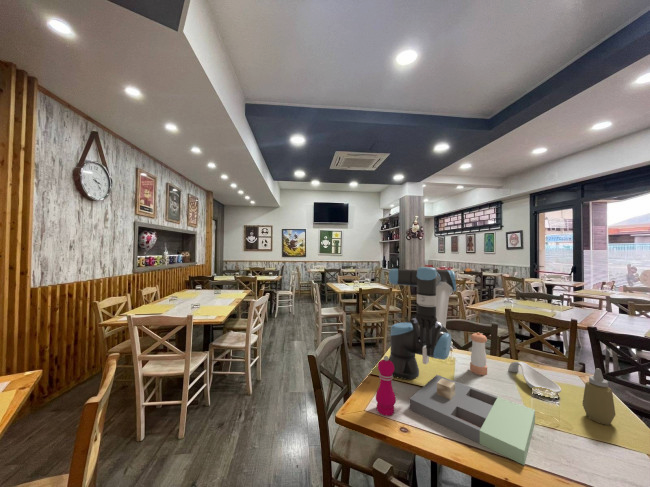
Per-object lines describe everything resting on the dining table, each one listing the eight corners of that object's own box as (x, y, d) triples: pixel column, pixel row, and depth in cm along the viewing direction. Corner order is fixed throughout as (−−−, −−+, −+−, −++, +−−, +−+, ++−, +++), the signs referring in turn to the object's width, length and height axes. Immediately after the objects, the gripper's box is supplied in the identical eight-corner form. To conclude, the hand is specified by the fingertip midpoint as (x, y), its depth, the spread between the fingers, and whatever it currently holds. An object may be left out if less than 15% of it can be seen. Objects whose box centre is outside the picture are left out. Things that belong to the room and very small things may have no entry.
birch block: (436, 394, 98) (437, 382, 98) (441, 389, 101) (441, 378, 102) (450, 399, 94) (450, 387, 94) (455, 394, 98) (455, 382, 98)
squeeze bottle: (577, 415, 93) (577, 366, 93) (588, 410, 96) (588, 362, 96) (609, 430, 85) (609, 376, 86) (620, 423, 88) (619, 372, 89)
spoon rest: (569, 400, 103) (569, 382, 103) (539, 399, 103) (539, 381, 103) (523, 371, 126) (523, 357, 126) (500, 371, 126) (500, 356, 127)
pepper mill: (382, 401, 99) (383, 350, 99) (399, 410, 94) (399, 356, 94) (371, 410, 94) (372, 355, 94) (388, 419, 89) (389, 362, 89)
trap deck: (409, 409, 95) (409, 398, 95) (436, 383, 113) (436, 374, 113) (524, 465, 71) (524, 451, 71) (535, 421, 89) (535, 409, 89)
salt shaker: (467, 367, 129) (467, 329, 130) (482, 368, 128) (483, 330, 129) (473, 374, 122) (474, 334, 122) (490, 375, 121) (490, 335, 121)
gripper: (407, 303, 106) (406, 360, 105) (439, 309, 97) (438, 371, 96) (415, 301, 111) (414, 355, 111) (446, 306, 102) (445, 365, 102)
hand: (425, 362), depth 104 cm, fingers closed
